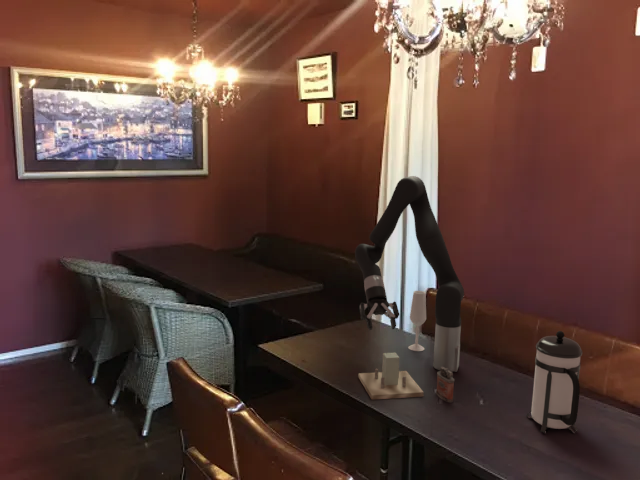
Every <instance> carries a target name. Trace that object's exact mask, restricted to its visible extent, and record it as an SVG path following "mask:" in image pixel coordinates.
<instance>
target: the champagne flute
mask: <svg viewBox="0 0 640 480" xmlns="http://www.w3.org/2000/svg"><path fill="white" fill-rule="evenodd" d="M426 305H427V302H426V291H423V290H414V291H413V294H412V300H411V306H410V313H409V319H410V321H411V323H412V324H413V325H414V326H415V338H414V339H415V342H414V343H413V344H411V345H409V346H408V347H407V348H408V349H409V350H410V351H414V352H422V351H424V350H425V347H424V346H423V345H421V344H419V334H420V326H423V324H424V323H425V322H426V320H427V306H426Z"/></svg>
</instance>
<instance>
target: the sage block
mask: <svg viewBox="0 0 640 480" xmlns="http://www.w3.org/2000/svg"><path fill="white" fill-rule="evenodd" d="M399 371H400V356H399V355H398V354H397V352H383V353H382V367H381V372H382V377H384V378H385V383H384V384H385V385H398V373H399Z"/></svg>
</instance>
